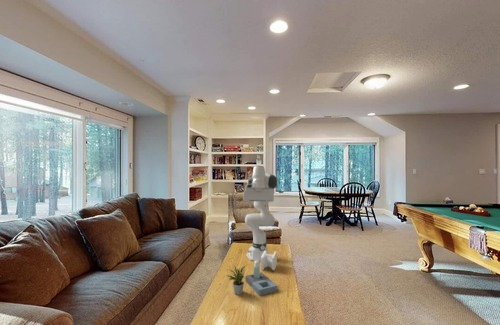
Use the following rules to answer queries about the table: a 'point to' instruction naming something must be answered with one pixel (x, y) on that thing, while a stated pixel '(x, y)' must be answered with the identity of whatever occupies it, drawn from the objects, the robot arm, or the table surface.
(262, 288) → the socket panel
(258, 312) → the table surface
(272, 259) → the cable organizer
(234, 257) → the table surface
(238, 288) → the house plant
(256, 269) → the plug
